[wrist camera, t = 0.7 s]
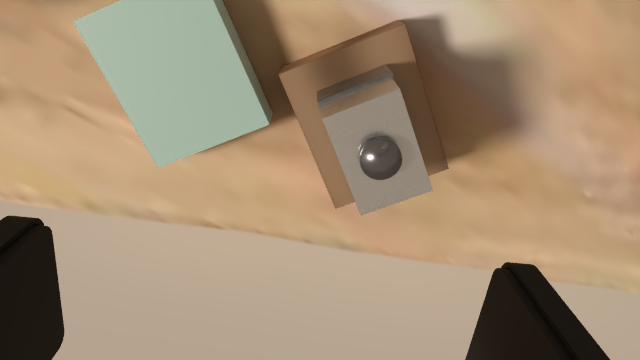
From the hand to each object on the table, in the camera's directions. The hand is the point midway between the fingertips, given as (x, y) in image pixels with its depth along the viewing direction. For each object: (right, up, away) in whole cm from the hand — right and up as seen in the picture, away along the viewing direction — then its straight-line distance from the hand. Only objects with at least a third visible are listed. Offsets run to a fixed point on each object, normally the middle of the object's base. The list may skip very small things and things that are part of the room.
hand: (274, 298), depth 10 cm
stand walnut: (+4, +8, +26) cm, 27 cm away
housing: (+4, +7, +23) cm, 24 cm away
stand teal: (-9, +11, +24) cm, 28 cm away
